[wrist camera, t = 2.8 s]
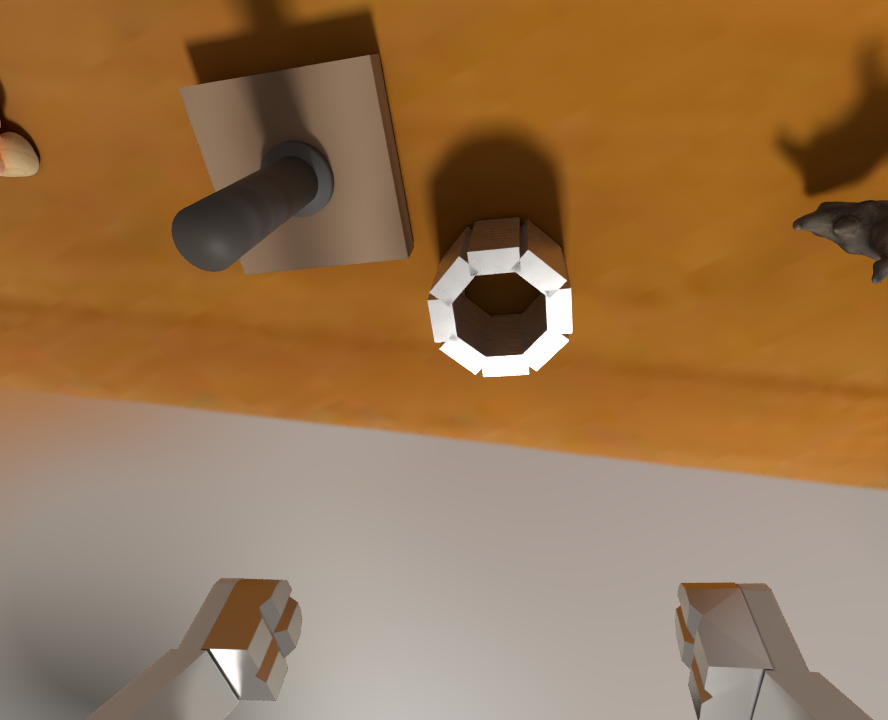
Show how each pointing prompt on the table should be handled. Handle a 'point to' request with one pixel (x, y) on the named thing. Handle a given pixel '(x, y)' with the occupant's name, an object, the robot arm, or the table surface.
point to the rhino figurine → (853, 229)
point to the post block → (296, 171)
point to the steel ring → (502, 336)
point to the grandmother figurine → (16, 156)
